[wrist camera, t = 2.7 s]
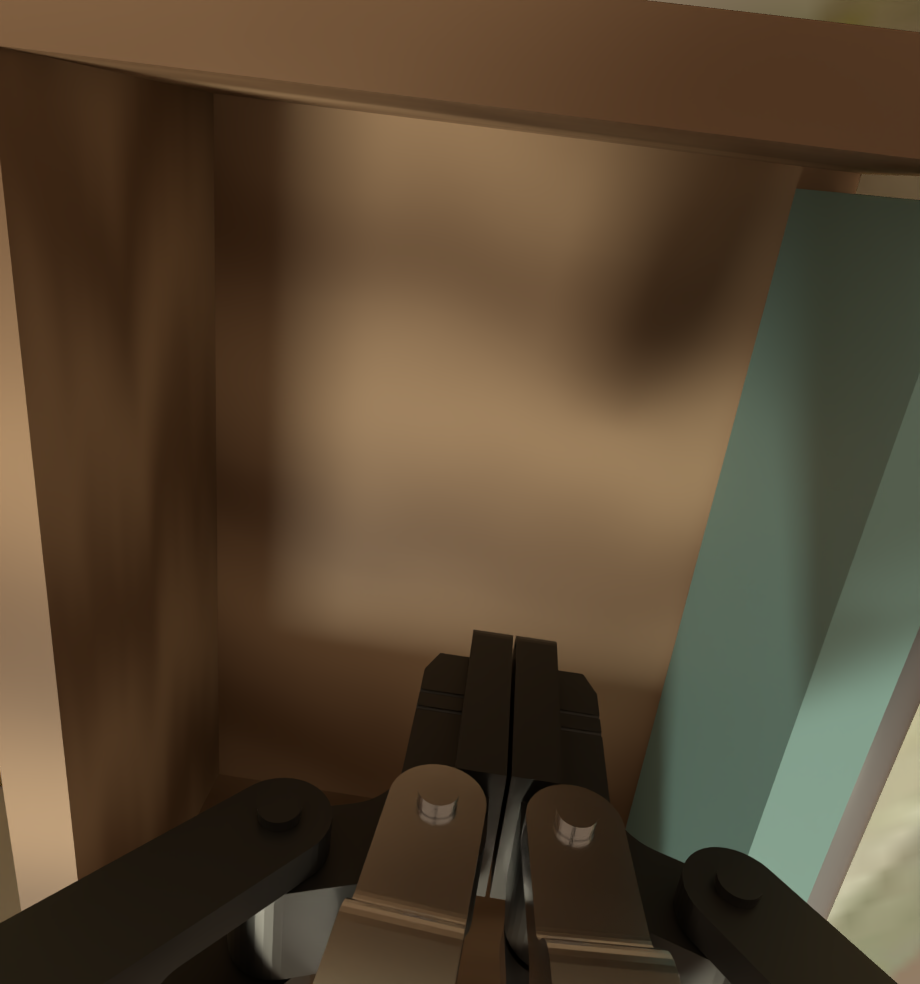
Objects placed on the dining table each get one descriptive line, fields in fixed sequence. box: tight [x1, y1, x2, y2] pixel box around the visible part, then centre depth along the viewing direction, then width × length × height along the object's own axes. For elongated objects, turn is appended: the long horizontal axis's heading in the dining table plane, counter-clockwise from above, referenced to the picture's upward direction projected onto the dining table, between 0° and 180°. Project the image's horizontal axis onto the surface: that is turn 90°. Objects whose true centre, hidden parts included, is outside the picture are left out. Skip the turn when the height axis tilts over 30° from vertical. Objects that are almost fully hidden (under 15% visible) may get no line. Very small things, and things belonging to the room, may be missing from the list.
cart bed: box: [0, 0, 920, 984], centre depth 17 cm, size 20×14×9 cm
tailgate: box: [625, 188, 920, 920], centre depth 15 cm, size 17×2×7 cm, turn 173°
